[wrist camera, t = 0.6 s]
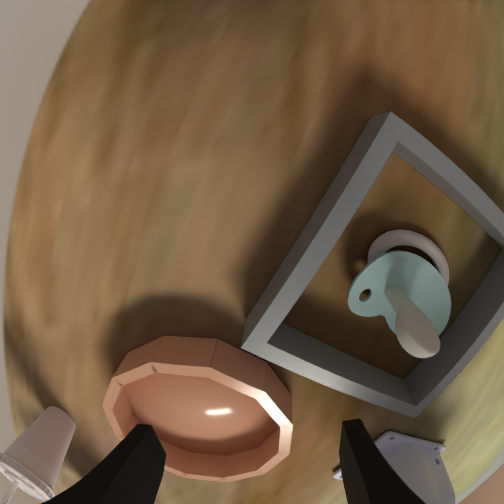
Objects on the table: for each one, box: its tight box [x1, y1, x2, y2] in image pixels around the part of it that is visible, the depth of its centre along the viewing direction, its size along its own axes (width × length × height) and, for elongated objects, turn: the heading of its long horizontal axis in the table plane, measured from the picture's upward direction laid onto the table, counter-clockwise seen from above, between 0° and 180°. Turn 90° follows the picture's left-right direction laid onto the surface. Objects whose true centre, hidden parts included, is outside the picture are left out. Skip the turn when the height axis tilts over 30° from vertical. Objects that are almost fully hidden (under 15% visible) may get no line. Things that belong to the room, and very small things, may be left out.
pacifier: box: [347, 229, 451, 358], centre depth 15 cm, size 7×6×6 cm
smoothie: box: [0, 406, 76, 504], centre depth 19 cm, size 6×6×14 cm
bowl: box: [102, 335, 293, 482], centre depth 21 cm, size 14×14×3 cm
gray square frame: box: [241, 111, 504, 418], centre depth 17 cm, size 14×14×3 cm
